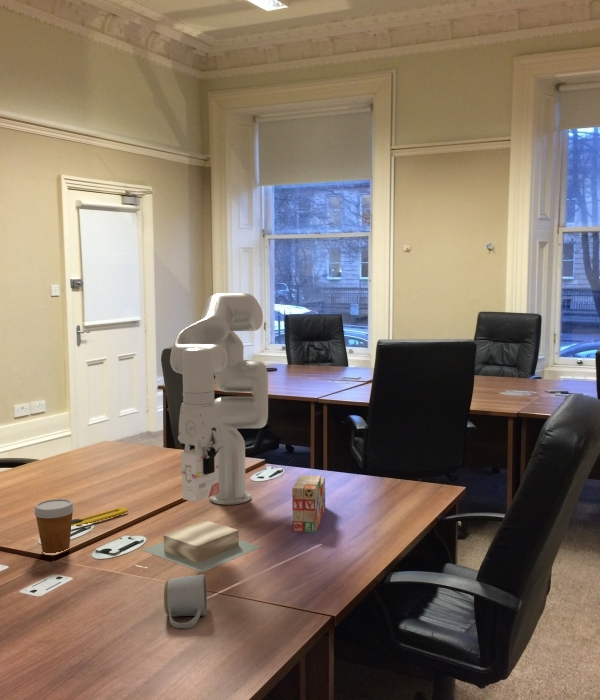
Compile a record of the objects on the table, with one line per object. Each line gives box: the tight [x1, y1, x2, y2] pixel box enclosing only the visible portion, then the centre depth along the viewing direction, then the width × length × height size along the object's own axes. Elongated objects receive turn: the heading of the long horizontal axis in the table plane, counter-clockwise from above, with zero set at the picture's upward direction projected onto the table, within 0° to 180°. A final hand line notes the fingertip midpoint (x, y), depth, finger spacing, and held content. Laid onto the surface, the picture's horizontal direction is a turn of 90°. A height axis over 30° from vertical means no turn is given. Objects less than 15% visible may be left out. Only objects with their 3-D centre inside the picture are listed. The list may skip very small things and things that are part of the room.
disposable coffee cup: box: [33, 498, 75, 553], centre depth 175 cm, size 10×10×12 cm
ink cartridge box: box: [180, 442, 219, 503], centre depth 174 cm, size 9×5×15 cm, turn 148°
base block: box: [163, 519, 240, 563], centre depth 175 cm, size 12×14×4 cm
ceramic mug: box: [163, 573, 208, 629], centre depth 140 cm, size 11×8×8 cm
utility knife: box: [71, 506, 129, 526], centre depth 198 cm, size 7×22×2 cm, turn 138°
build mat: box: [141, 539, 262, 574], centre depth 176 cm, size 22×20×1 cm
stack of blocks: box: [291, 474, 326, 533], centre depth 197 cm, size 21×6×12 cm, turn 171°
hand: (200, 470), depth 174 cm, fingers closed on ink cartridge box, 5 cm apart
